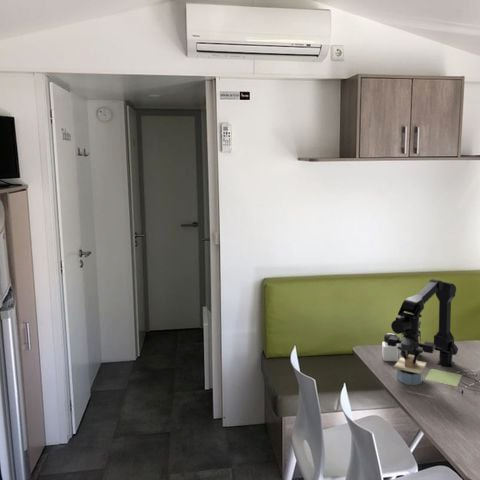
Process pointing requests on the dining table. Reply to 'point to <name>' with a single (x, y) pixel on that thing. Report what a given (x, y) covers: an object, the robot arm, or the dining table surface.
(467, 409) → the dining table surface
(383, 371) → the dining table surface
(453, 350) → the robot arm
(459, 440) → the dining table surface
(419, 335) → the french press
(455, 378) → the mat
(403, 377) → the bowl
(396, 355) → the medicine bottle
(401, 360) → the lid
